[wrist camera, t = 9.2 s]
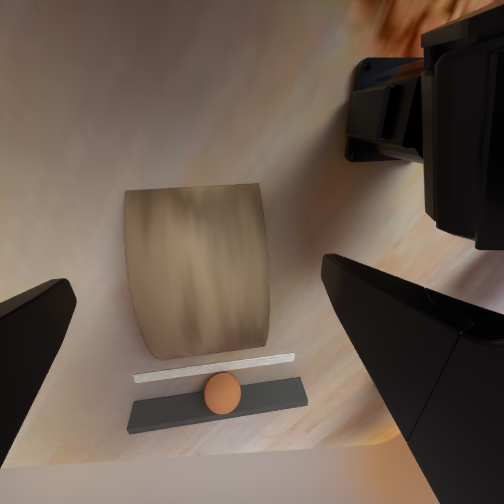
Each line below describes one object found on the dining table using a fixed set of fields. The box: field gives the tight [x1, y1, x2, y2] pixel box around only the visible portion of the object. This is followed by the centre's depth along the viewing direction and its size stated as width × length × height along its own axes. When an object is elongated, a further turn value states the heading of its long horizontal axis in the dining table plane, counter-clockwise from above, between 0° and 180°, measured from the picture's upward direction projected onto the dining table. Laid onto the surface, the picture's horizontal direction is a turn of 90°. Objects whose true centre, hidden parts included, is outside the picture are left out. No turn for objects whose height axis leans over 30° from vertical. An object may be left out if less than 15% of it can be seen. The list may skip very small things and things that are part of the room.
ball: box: [204, 373, 241, 414], centre depth 28 cm, size 4×4×4 cm
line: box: [133, 353, 295, 383], centre depth 29 cm, size 18×1×1 cm, turn 92°
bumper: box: [127, 377, 308, 434], centre depth 30 cm, size 20×1×3 cm, turn 92°
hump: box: [124, 183, 269, 360], centre depth 29 cm, size 10×22×22 cm, turn 2°
